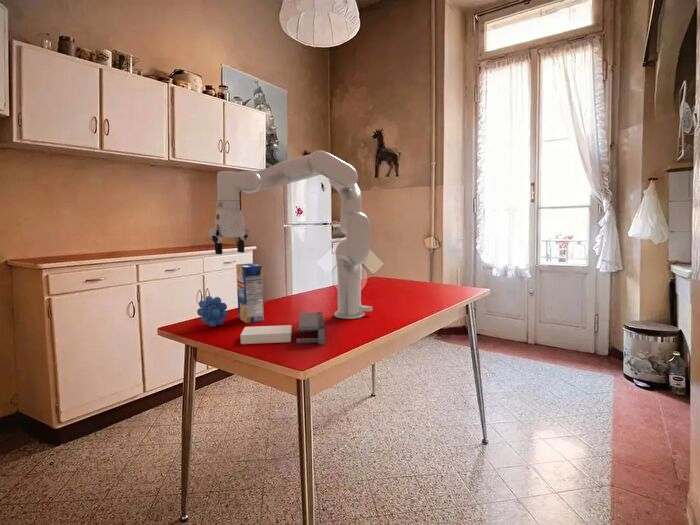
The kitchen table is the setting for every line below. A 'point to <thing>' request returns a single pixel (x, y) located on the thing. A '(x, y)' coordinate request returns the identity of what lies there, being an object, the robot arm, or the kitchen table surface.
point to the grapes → (212, 311)
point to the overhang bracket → (312, 327)
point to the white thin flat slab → (266, 334)
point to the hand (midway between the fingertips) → (230, 253)
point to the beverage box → (250, 292)
